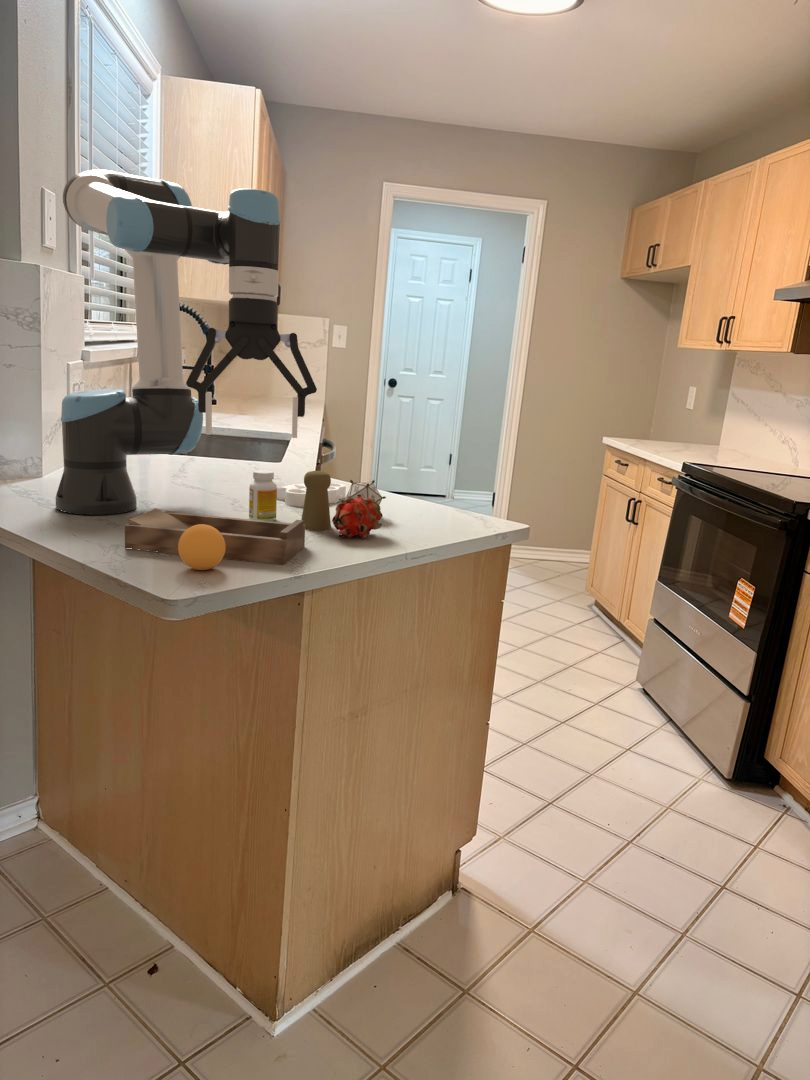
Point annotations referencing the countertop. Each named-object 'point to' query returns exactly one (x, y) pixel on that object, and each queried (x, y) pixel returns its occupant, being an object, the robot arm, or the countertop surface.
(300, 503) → the white scalloped tray
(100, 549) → the countertop surface
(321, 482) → the cork
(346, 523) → the dragon fruit
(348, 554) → the countertop surface
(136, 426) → the robot arm
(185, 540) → the rubber ball
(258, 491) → the supplement bottle
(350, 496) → the geometric wire polyhedron
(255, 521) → the wooden tray
